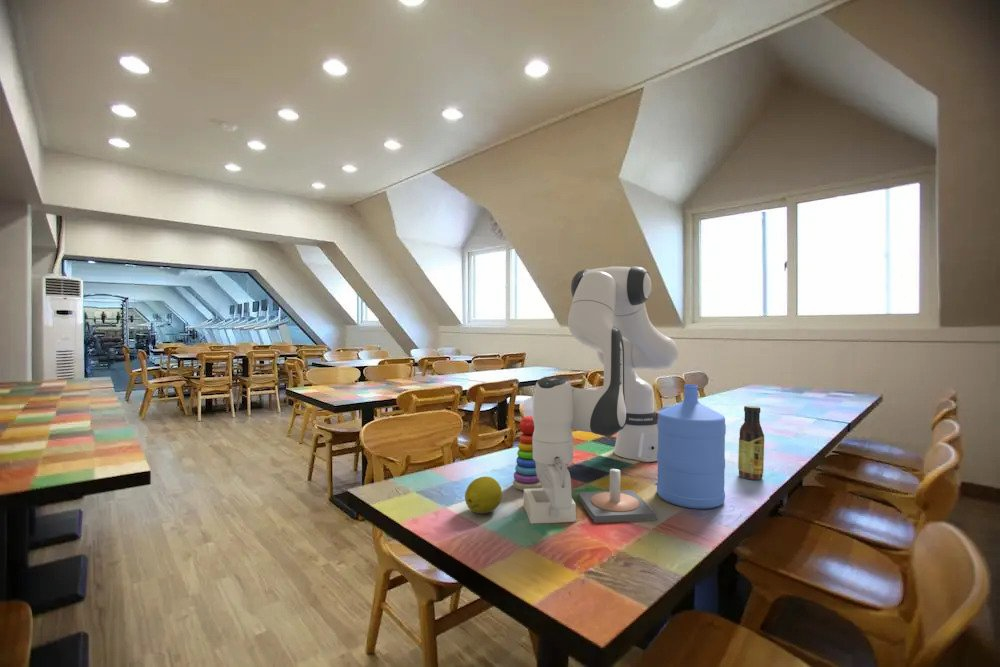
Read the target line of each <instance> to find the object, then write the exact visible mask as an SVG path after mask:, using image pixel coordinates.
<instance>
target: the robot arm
mask: <svg viewBox="0 0 1000 667" xmlns="http://www.w3.org/2000/svg"><path fill="white" fill-rule="evenodd" d="M570 285H571V286H570V290H571V296H572V301H571V304H570V309H569V312H568V317H567V327H568V330H569V332H570V334H571V335H572V337H574V338H575V339H576V340H577V341H578V342H580V343H581V344H582V345H584V346H585V347H588V348H590V349H594V350H596V351H597V352H596V354H597V357H598V360H599V361H600V363H601V364H602V365H603V386H602V387H601V388H599V389H589V388H580V387H574V386H572V384H571V380H570V379H569V378H568V377H567V376H566V377H565V376H562V375H551V376H550V375H549V376H544V377H541V378H540V379H538V380H537V381H536V383H535V386H534V391H533V397H532V398H533V399H532V417H533V421H534V432H533V441H532V449H533V460H534V461H535V465H536V473H537V478H538V480H539V481H540V483H541V485H542V488H543V489H544V491H545V495H546V501H547V502H550V507H549V514H550V516H551V517H552V518H557V517H558V516H559V510H568V509H570V508H571V505H572V499H573V496H572V480H571V479H572V478H571V474H570V470H569V469H568V464H569V463H572V462H573V460H574V435H573V432H572V430H573V431H579V432H580V431H581V432H587V433H592V434H593V435H594V434H595V435H597V436H598V435H600V436H603V437H607V438H610V437H612V436H614V435H615V434H616V439H615V443H614V448H613V451H612V452H613V453H614V455H616V456H618V457H622V458H623V459H630V460H637V461H641V462H644V463H650V462H658V461H657V451H658V427H657V423H658V413H659V412H656V411H654V409H655V408H654V406H655V404H654V403H655V402H654V400H655V391H654V388H653V386H652V385H651V384H650V383H649V382H648V381H646V380H644V379H642V378H641V377H640V376H639V375H638V374H637V370H649V371H650V370H651V371H653V370H654V371H659V370H667V369H671V368H672V367H674V366H675V364H676V363H677V361H678V358H679V349H678V346H677V343H676V342H675V341H674V340H673V338H671V337H669V336H666V335H665V334H663V333H662V332H661V331H659V330H658V329H657V328H656V327H655V326H654V324H653V323H652V322H651V320H650V318H649V314H648V312H647V311H648V310H647V306H646V302H647V300H648V299H649V298H650V295H651V291H652V280H651V275H650V273H649V271H647V270H646V269H645V268H644V267H642V266H633V265H632V266H608V267H599V268H593V269H589V268H587V269H583V270H582V269H581V270H579V271H577V273H576V274H574V276H573V277H572V280H571V284H570Z"/></svg>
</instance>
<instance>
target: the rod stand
mask: <svg viewBox="0 0 1000 667" xmlns="http://www.w3.org/2000/svg"><path fill="white" fill-rule="evenodd" d="M577 499H578V501H579V500H580V501H579V503H580V504H581V503H582V504H581V505H582V506H584V507H585V508H584V507H583V508H584V509H585V511H586V510H587V511H586V512H587V514H588V515H589V517H590V518H591V520H592V519H593V520H592V521H593V522H594V523H595V524H596V523H597V524H600V523H601V522H602V523H617V522H619V523H621V522H643V521H656V520H657V512H656V511H655V510H654V509H653V508H652V507H651V506H649V505H648V503H647V502H645V501H644V500H643V499H642V497H640V496H639V495H638V493H636V492H635V491H634V490H633V489H624V490H623V489H622V490H621V470H620V469H618V468H610V469H609V490H602V491H601V490H600V491H578V492H577Z"/></svg>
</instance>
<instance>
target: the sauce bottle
mask: <svg viewBox="0 0 1000 667" xmlns="http://www.w3.org/2000/svg"><path fill="white" fill-rule="evenodd" d="M743 411H744V419H743V420H744V422H743V424H742V425H741V427H740V428H739V437H738V455H737V456H738V462H737V465H738V466H737V469H738V475H739V477H741V478H743V479H746V480H753V481H754V480H757V481H759V480H762V479H763V476H764V468H765V467H764V466H765V464H764V462H765V461H764V460H765V458H764V457H765V434H764V432H763V429H762V426H761V423H760V422H761V420H760V413H761V407H760V406H756V405H744V406H743Z"/></svg>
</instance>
